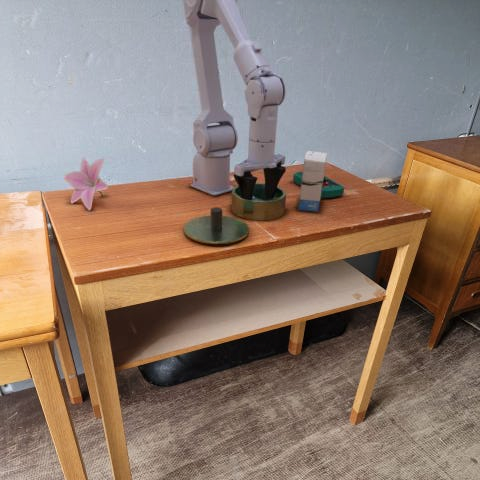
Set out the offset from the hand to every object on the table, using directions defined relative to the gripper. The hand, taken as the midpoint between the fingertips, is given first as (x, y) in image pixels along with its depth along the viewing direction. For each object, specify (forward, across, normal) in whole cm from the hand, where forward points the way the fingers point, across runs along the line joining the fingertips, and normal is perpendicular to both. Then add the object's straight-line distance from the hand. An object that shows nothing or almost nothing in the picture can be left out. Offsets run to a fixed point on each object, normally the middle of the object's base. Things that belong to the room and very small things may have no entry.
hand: (258, 200), depth 103 cm
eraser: (+2, 0, 0) cm, 2 cm away
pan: (+2, 0, 0) cm, 2 cm away
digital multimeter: (+2, +23, 0) cm, 23 cm away
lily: (+2, -27, +29) cm, 40 cm away
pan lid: (+2, -16, -3) cm, 16 cm away
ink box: (+2, +12, -6) cm, 14 cm away
